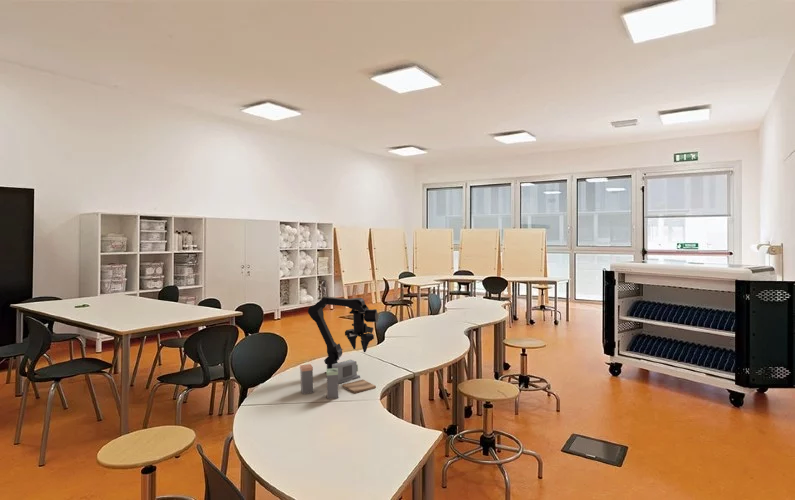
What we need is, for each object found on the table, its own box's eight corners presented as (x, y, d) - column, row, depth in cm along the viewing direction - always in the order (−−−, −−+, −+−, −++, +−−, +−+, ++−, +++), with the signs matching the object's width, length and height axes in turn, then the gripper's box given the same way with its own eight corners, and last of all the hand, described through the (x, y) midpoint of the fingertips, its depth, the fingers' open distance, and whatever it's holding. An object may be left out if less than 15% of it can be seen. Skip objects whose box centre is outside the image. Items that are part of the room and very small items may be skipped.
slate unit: (329, 380, 228) (328, 364, 228) (351, 374, 237) (350, 358, 237) (337, 384, 222) (337, 367, 222) (360, 377, 231) (359, 361, 231)
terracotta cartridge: (300, 390, 214) (299, 365, 213) (311, 389, 216) (310, 364, 215) (302, 394, 209) (301, 368, 209) (313, 392, 211) (312, 367, 210)
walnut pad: (342, 386, 219) (342, 384, 218) (363, 381, 226) (363, 379, 225) (354, 393, 209) (354, 391, 209) (375, 387, 216) (375, 385, 216)
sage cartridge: (327, 394, 208) (326, 368, 207) (338, 394, 209) (337, 368, 208) (327, 399, 203) (326, 372, 202) (338, 398, 204) (337, 371, 203)
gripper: (381, 321, 233) (382, 350, 234) (360, 317, 247) (361, 344, 248) (364, 325, 226) (365, 355, 227) (343, 320, 240) (344, 348, 241)
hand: (359, 350), depth 236 cm, fingers open, 9 cm apart
